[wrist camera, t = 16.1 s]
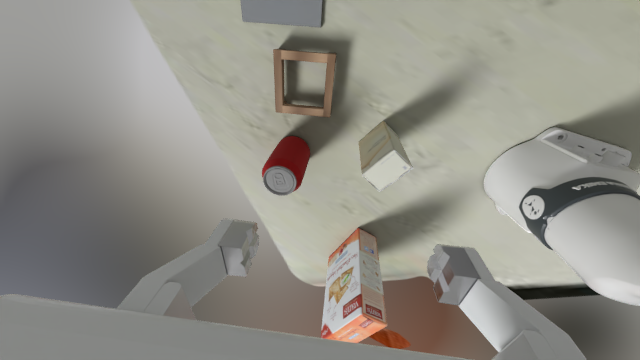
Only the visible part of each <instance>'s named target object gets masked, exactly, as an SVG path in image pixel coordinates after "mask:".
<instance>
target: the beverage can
mask: <svg viewBox="0 0 640 360" xmlns="http://www.w3.org/2000/svg"><path fill="white" fill-rule="evenodd" d="M309 157H310V149H309V147H308V145H307V143H306V142H305V141H304V140H302V139H301V138H299V137H295V136H289V137H285V138H283V139H282V140H281V141H280V142H279V144H278V145H277V146H276V148H275V149H274V151H273V152H272V154H271V156H270V157H269V159H268V160H267V162H266V163H265V165H264V167H263V170H262V177H263V182H264V185H265V187H266V188H267V189H268V190H269V191H270V192H272V193H274V194H276V195H288V194H290V193H292V192H293V191H295V190H297V189H298V188H299V187H300V185H301V183H302V180H303V177H304V174H305V171H306V167H307V164H308V161H309Z"/></svg>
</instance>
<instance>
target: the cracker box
mask: <svg viewBox="0 0 640 360" xmlns="http://www.w3.org/2000/svg"><path fill="white" fill-rule="evenodd" d="M386 326H387V320H386V311H385V305H384V295H383V288H382V280H381V272H380V264H379V257H378V249H377V241H376V237H375V236H373V235H371V234H369V233H367V232H365V231H363V230H361V229H360V228H358V229H357V230H356V231H355V232H354V233H353V234H352V235H351V236H350V237H349V238H348V239H347V240H346V241H345V242H344V243H343V244H342V245H341V246H340V247H339V248H338V249H337V250H336V251H335V252H334V253H333V254H332V255H331V256H330V257H329V261H328V271H327V281H326V291H325V301H324V311H323V320H322V331H321V338H324V339H331V340H338V341H345V342H352V343H358V342H359V341H361V340H363V339H365V338H367V337H368V336H370V335H372V334H374V333H375V332H377V331H379V330H381V329H382V328H384V327H386Z"/></svg>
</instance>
